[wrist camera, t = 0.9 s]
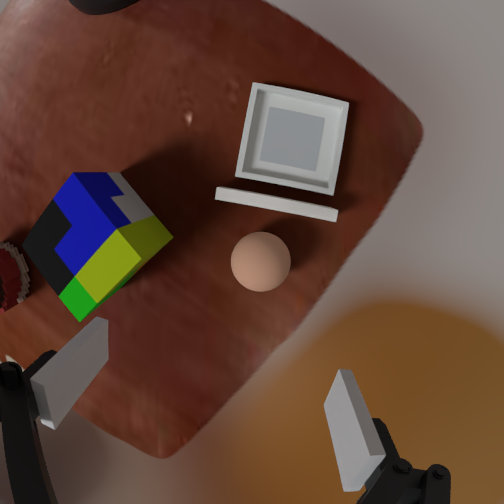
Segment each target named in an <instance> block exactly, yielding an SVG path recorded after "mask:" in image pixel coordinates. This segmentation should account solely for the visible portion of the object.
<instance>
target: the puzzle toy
mask: <svg viewBox="0 0 504 504" xmlns="http://www.w3.org/2000/svg"><path fill="white" fill-rule="evenodd" d="M172 238H173V236H172V235H171V234H170V232H169V231H168V230H167V229H166V228H165V227H164V225H163V224H162V223H161V222H160V221H159V220H158V218H157V217H156V216H155V215H154V214H153V212H152V211H151V210H150V209H149V208H148V207H147V205H146V204H145V203H144V202H143V201H142V199H141V198H140V197H139V196H138V195H137V193H136V192H135V191H134V190H133V188H132V187H131V186H130V185H129V184H128V182H127V181H126V180H125V179H124V177H123V176H122V175H121V174H120V173H111V172H74V173H72V175H71V176H70V177H69V178H68V180H67V181H66V182H65V183H64V185H63V186H62V187H61V189H60V190H59V191H58V193H57V194H56V195H55V197H54V198H53V199H52V201H51V202H50V204H49V205H48V206H47V208H46V209H45V211H44V212H43V213H42V215H41V216H40V218H39V219H38V221H37V222H36V224H35V225H34V227H33V228H32V230H31V231H30V233H29V234H28V236H27V237H26V239H25V241H24V242H23V244H22V247H23V248H24V250H25V251H26V253H27V254H28V256H29V257H30V259H31V260H32V261H33V263H34V264H35V266H36V267H37V269H38V270H39V271H40V273H41V274H42V275H43V277H44V278H45V279H46V281H47V282H48V283H49V285H50V286H51V287H52V289H53V290H54V291H55V293H56V294H57V295H58V296H59V298H60V299H61V300H62V301H63V303H64V304H65V305H66V306H67V307H68V309H69V310H70V311H71V312H72V314H73V315H74V316H75V317H76V318H77V319H78V321H79V322H81V321H82V320H83V319H84V318H85V317H86V316H88V315H89V314H90V313H91V312H92V311H94V310H95V309H96V308H97V307H98V306H99V305H101V304H102V303H103V302H104V301H105V300H107V299H108V298H109V297H110V296H112V295H113V294H114V293H115V292H116V291H118V290H119V289H120V288H121V287H122V286H123V285H124V284H125V283H126V282H127V281H128V280H129V279H130V278H131V277H132V276H133V275H134V274H135V273H136V272H137V271H138V270H139V269H140V268H141V267H142V266H143V265H145V264H146V263H147V262H148V261H149V260H150V259H151V258H152V257H153V256H154V255H155V254H156V253H157V252H158V251H159V250H160V249H161V248H162V247H164V246H165V245H166V244H167V243H168V242H169V241H170V240H171V239H172Z"/></svg>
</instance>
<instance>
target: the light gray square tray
mask: <svg viewBox="0 0 504 504" xmlns="http://www.w3.org/2000/svg"><path fill="white" fill-rule="evenodd" d="M348 108H349V103H348V102H344V101H341V100H337V99H333V98H329V97H325V96H321V95H316V94H312V93H307V92H303V91H298V90H293V89H288V88H283V87H278V86H272V85H266V84H260V83H254V82H253V84H252V89H251V94H250V99H249V104H248V109H247V115H246V120H245V125H244V130H243V136H242V141H241V146H240V152H239V157H238V163H237V168H236V174H235V177H241V178H247V179H253V180H258V181H264V182H269V183H274V184H280V185H285V186H290V187H295V188H300V189H305V190H310V191H314V192H319V193H324V194H328V195H333V194H334V189H335V184H336V179H337V174H338V168H339V163H340V157H341V151H342V145H343V139H344V133H345V127H346V121H347V114H348Z"/></svg>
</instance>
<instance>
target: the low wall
mask: <svg viewBox="0 0 504 504" xmlns="http://www.w3.org/2000/svg"><path fill="white" fill-rule="evenodd" d="M215 199H216V200H222V201H228V202H233V203H239V204H245V205H250V206H256V207H261V208H267V209H272V210H277V211H283V212H288V213H293V214H298V215H303V216H308V217H313V218H318V219H323V220H328V221H332V222H336V219H337V214H338V210H336V209H334V208H331V207H327V206H323V205H318V204H313V203H308V202H304V201H299V200H294V199H289V198H283V197H278V196H273V195H268V194H262V193H257V192H251V191H245V190H240V189H234V188H228V187H222V186H221V187H217V189H216V195H215Z"/></svg>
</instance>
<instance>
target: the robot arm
mask: <svg viewBox="0 0 504 504" xmlns="http://www.w3.org/2000/svg"><path fill="white" fill-rule="evenodd" d="M69 1H70V3H71V4H72V5H73V6H74V7H76V8H77V9H78V10H79V11H81V12H83V13H85V14H89V15H101V14H107V13H111V12H114V11H117V10H119V9H122V8H124V7H126V6H128V5H130V4H132V3H134V2H136V1H137V0H69ZM107 361H108V320H106V319H103V318H100V317H95V318H94V319H93V320H92V321H91V322H90V323H89V324H88V325H87V326H86V327H84V328H83V329H82V330H81V331H80V332H79V333H78V334H77V335H76V336H75V337H74V338H72V339H71V340H70V341H69V342H68V343H67V344H66V345H65V346H64V347H63V348H62V349H61V350H60V351H59V352H56V351H54V350H50V351H47V352H45V353H43V354H42V355H41V356H40V357H39V358H38V359H37V360H35V361H34V362H33V363H32V364H31V365H30V366H29V367H28V368H27V369H26V370H24V371H23V372H22V369H21V366H20V365H19V364H17V363H15V362H10V361H8V362H3V363H1V364H0V422H2V432H3V442H4V450H5V457H6V463H7V469H8V474H9V480H10V484H11V489H12V494H13V498H14V502H15V504H58V501H57V498H56V496H55V492H54V489H53V487H52V483H51V480H50V477H49V473H48V470H47V466H46V462H45V459H44V455H43V451H42V447H41V443H40V438H39V434H38V429H37V424H36V420H35V419H36V418H37V417H38V416H39V415H40V419H41V422H42V423H43V424H45V425H47V426H49V427H50V428H53V429H56V427H57V426H58V425H59V423H60V422H61V421H62V419H63V418H64V417H65V415H66V414H67V412H68V411H69V410H70V409H71V407H72V406H73V405H74V403H75V402H76V401H77V399H78V398H79V397H80V395H81V394H82V393H83V391H84V390H85V389H86V388H87V386H88V385H89V384H90V382H91V381H92V380H93V378H94V377H95V376H96V375H97V373H98V372H99V371H100V370H101V368H102V367H103V366H104V364H105V363H106V362H107ZM324 408H325V412H326V417H327V421H328V425H329V429H330V433H331V437H332V441H333V446H334V450H335V454H336V459H337V463H338V468H339V472H340V477H341V481H342V486H343V490H344V492H346V491H359V490H360V489H361V488H362V486H363V485H364V484H365V487H366V491H365V493H364V494H363V495H362V496H361V497H360V498H359V499H358V501H357V503H356V504H450V490H451V487H450V486H451V475H450V472H449V470H448V469H447V468H446V467H444V466H442V465H440V464H434V465H431V466H430V467H429V468H428V470H419V469H414V468H413V467H412V465H411V464H410V463H409V462H408V461H406V460H405V459H402V458H400V457H399V455H398V452H397V450H396V448H395V445H394V443H393V440H392V439H391V436H390V434H389V431H388V429H387V427H386V425H385V424H384V423H383V422H382V421H381V420H380V419H379V418H371V416H370V413H369V411H368V409H367V406H366V404H365V401H364V399H363V397H362V395H361V392H360V390H359V387H358V385H357V383H356V380H355V378H354V375H353V373H352V371H351V370H344V369H339V370H338V373H337V375H336V378H335V380H334V383H333V385H332V387H331V389H330V392H329V394H328V396H327V399H326V401H325V403H324Z"/></svg>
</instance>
